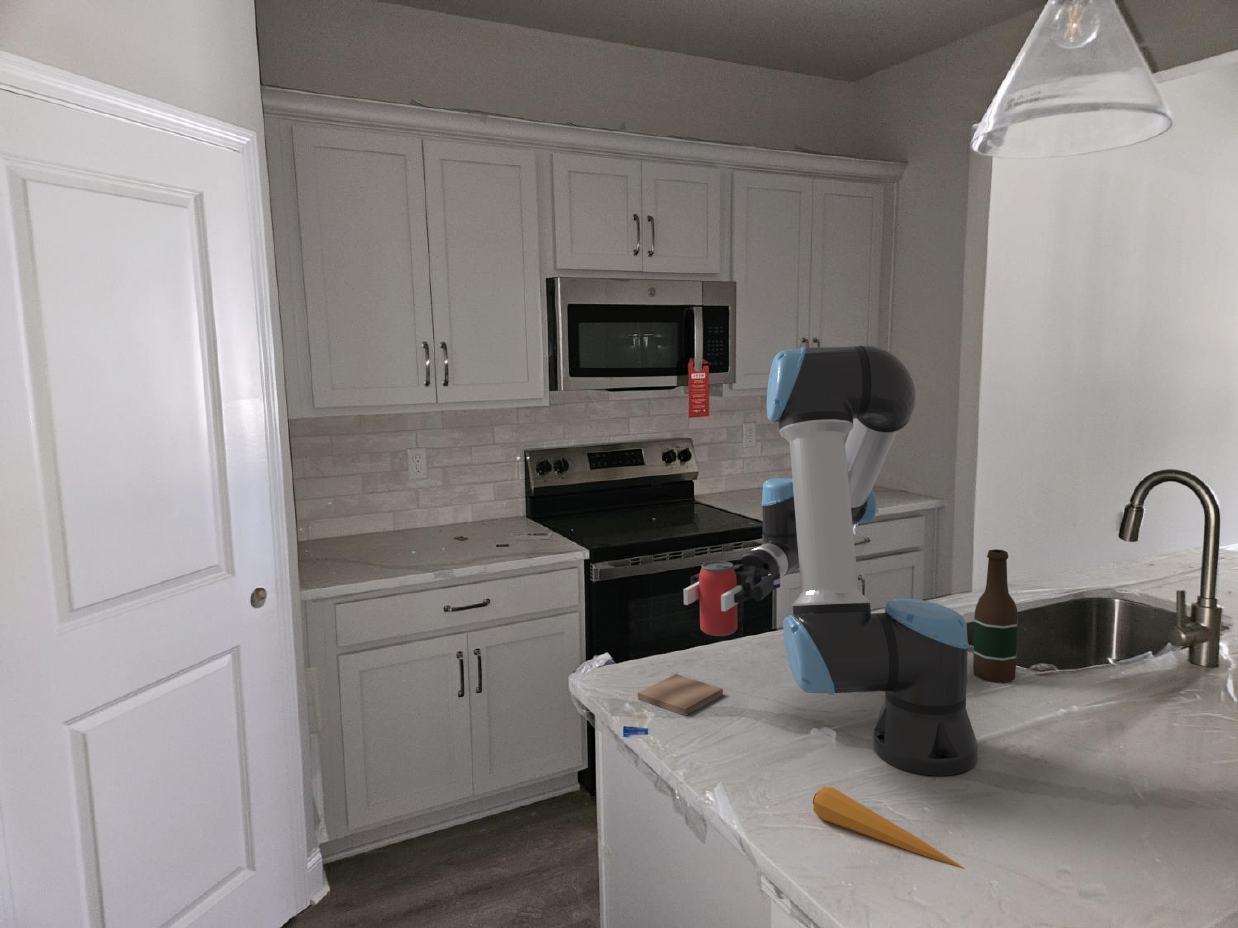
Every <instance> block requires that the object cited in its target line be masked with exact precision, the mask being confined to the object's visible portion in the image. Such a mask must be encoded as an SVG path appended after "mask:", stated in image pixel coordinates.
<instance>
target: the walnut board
mask: <svg viewBox="0 0 1238 928" xmlns="http://www.w3.org/2000/svg"><path fill="white" fill-rule="evenodd" d="M721 695H722V696H723V695H724V689H723V688H722V687H720V686H719V687H718V686H716V685H713V684H709V683H706V682H703V681H699V680H696V679H693V678H691V677H687V676H684V675H681V674H678V673H675V674H672V675H671V676H669V677H666V678H665V679H663V680H661V681H659V682H657V683H655V684H653V685H651V686H648V687H646V688H645V689H642V690H640V691H638V692H637V699H638V700H640V701H643V702H645V703H649V704H651V705H654V706H656V705H658V706H657V707H659V706H660V707H659V708H662V709H665V710H667V709H668V711H670V710H671V712H673V711H674V712H673V713H676V714H679V715H681V714H683V715H682V716H684V715H686V714H687V715H689V714H692V713H693V712H694V711H693V710H695V709H696V710H699V709H700V708H702V707H704V706H705V705H707V704H709V703H711V702H713V701H714V700H716V699H718V698H720V697H722V696H721ZM719 696H720V697H719ZM712 700H713V701H712ZM703 705H704V706H703ZM696 710H695V711H696ZM692 711H693V712H692ZM687 715H686V716H687Z"/></svg>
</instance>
